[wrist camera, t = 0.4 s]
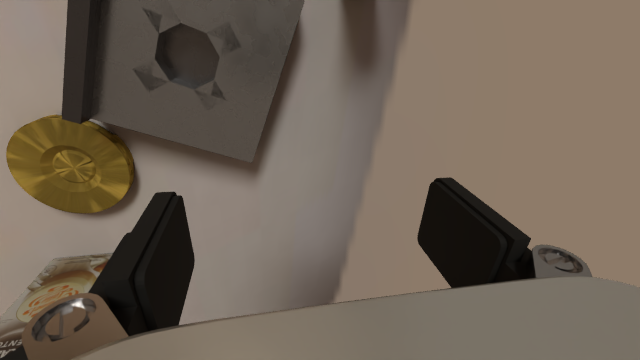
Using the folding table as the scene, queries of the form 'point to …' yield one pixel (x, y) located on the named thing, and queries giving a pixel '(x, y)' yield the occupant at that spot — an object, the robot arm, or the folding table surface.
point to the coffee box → (48, 294)
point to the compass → (70, 164)
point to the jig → (178, 67)
